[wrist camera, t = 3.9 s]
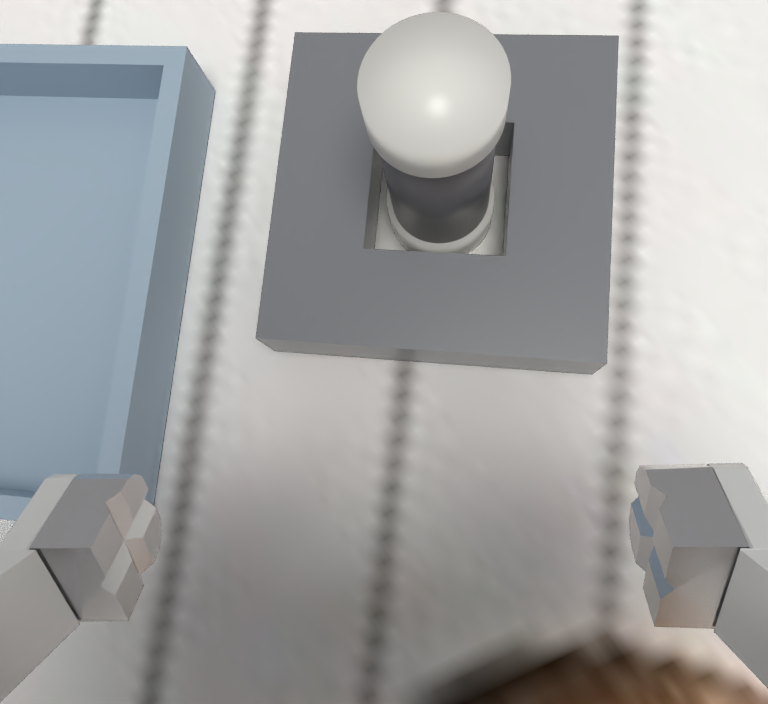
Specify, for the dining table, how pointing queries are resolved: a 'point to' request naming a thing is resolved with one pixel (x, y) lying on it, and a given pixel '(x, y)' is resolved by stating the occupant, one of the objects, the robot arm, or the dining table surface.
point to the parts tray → (93, 254)
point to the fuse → (436, 126)
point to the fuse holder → (447, 270)
